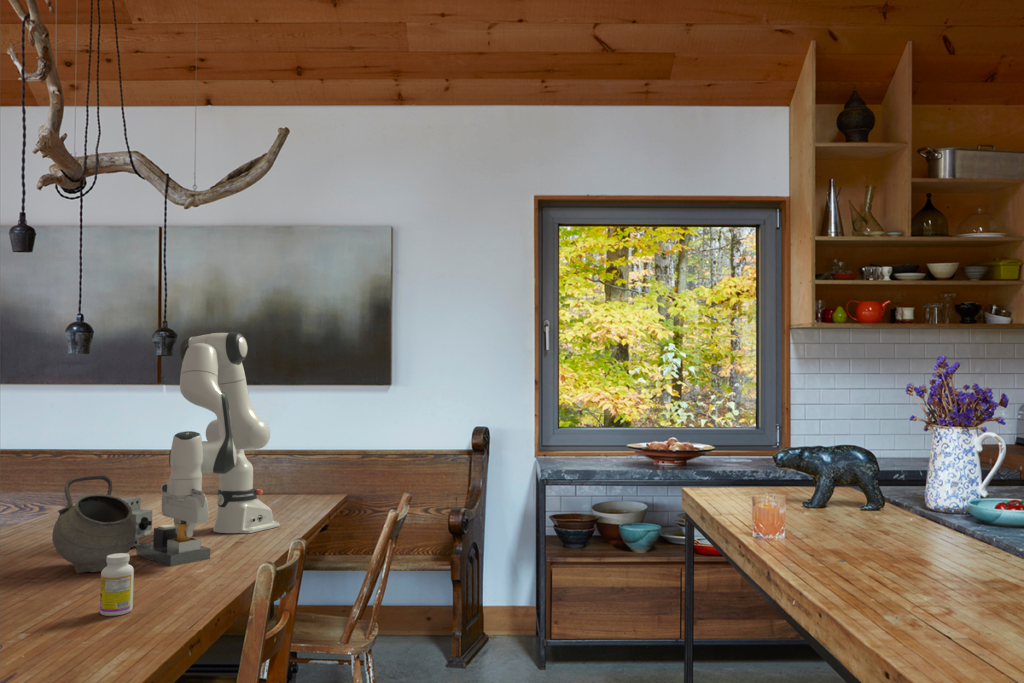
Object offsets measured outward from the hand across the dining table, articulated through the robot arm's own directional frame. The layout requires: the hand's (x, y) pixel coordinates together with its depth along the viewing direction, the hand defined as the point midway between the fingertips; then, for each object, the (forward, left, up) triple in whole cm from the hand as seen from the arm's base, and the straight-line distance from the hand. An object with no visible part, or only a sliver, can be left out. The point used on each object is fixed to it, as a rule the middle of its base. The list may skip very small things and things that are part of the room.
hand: (184, 535), depth 222 cm
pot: (+21, -10, -7) cm, 24 cm away
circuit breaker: (+3, -28, -7) cm, 29 cm away
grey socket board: (0, -6, -7) cm, 9 cm away
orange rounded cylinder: (0, 0, -3) cm, 3 cm away
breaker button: (0, -10, -4) cm, 11 cm away
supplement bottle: (+35, +35, -7) cm, 50 cm away
